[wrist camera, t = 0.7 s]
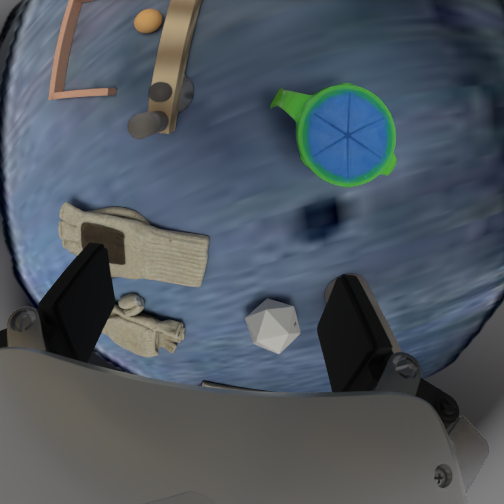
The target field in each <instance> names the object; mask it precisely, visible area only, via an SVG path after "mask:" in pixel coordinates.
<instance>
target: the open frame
mask: <svg viewBox="0 0 504 504" xmlns="http://www.w3.org/2000/svg"><path fill="white" fill-rule="evenodd" d="M90 1H94V0H69V2H68V5H67V8H66V12H65V15H64V18H63V22H62V26H61V30H60V34H59V38H58V42H57V47H56V52H55V57H54V63H53V69H52V75H51V82H50V91H49V100H53V99H62V98H72V97H85V96H107V95H116V89H117V88H100V89H85V90H73V91H64V85H65V78H66V71H67V65H68V59H69V54H70V49H71V44H72V40H73V35H74V31H75V27H76V23H77V20H78V16H79V13H80V9H81V6H82V3H85V2H90Z"/></svg>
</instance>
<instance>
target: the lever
mask: <svg viewBox="0 0 504 504" xmlns="http://www.w3.org/2000/svg"><path fill="white" fill-rule="evenodd" d="M201 1H202V0H171V1H170V5H169V8H168V12H167V15H166V19H165V23H164V27H163V31H162V35H161V39H160V44H159V48H158V53H157V58H156V63H155V68H154V73H153V79H152V85H151V87H150V89H149V97H150V98H149V105H148V112H146V113H139V114H136V115H134V116H133V117H132V118H131V119H130V120H129V123H128V131H129V134H130V135H131V136H132V137H133V138H136V139H143V138H145V137H148V136H150V135H153V134H156V133H165V134H170V133H172V132H174V131H175V128H176V121H177V114H178V108H179V101H180V95H181V90H182V84H183V79H184V73H185V68H186V63H187V58H188V54H189V49H190V45H191V40H192V36H193V32H194V28H195V24H196V20H197V16H198V12H199V9H200V5H201Z"/></svg>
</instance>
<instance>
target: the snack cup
mask: <svg viewBox="0 0 504 504" xmlns="http://www.w3.org/2000/svg"><path fill="white" fill-rule="evenodd" d="M276 106H279V107H280V108H281V109H283V110H284V111H285V112H286V113H288V114H289V115H290V116H291V117H292V118H293V119H294V120H295V122H296V141H297V146H298V150H299V152H300V158H301V160H302V162H303V163H304V165H305V166H308V167H309V169H310V170H311V171H312V172H313V173H314V174H316V175H317V176H318V177H320V178H321V179H322V180H324V181H326V182H328V183H331V184H334V185H338V186H341V187H351V186H359V185H362V184H365V183H367V182H369V181H371V180H373V179H374V178H376V177H377V176H378V175H379V174H383V175H389V174H390V173H391V172H392V170H393V169H394V167H395V165H396V163H397V159H396V156H395V154H394V148H395V142H396V130H395V125H394V122H393V119H392V115H391V113H390V112H389V110H388V109H387V107H386V106H385V104H384V103H383V102H382V101H381V100H380V99H379V98H378V96H376V95H375V94H373V93H372V92H370V91H368V90H366V89H364V88H362V87H359V86H355V85H354V84H351V83H342V84H340V85H334V86H330V87H327V88H324V89H322V90H320V91H319V92H317V93H316V94H314V95H307V94H303V93H298V92H293V91H289V90H283V88H280V89H279V91H278V92H277V94H276V96H275V97H274V99H273V101H272V102H271V105H270V108H271V109H272V108H274V107H276Z"/></svg>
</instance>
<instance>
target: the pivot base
mask: <svg viewBox="0 0 504 504" xmlns="http://www.w3.org/2000/svg"><path fill="white" fill-rule="evenodd" d="M151 85H152V84H151ZM150 87H151V86H150ZM149 89H150V88H149ZM193 96H194V87H193V83H192V81H191V80H190V78H189V77H188V76H186V75H185V74H184V79H183V84H182V90H181V95H180V101H179V108H178V113H180V112H182V111H183V110H185V109H186V108H187V107H188V106H189V104H190V103H191V101H192V99H193ZM148 97H149V93H148ZM149 98H150V97H149Z"/></svg>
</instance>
